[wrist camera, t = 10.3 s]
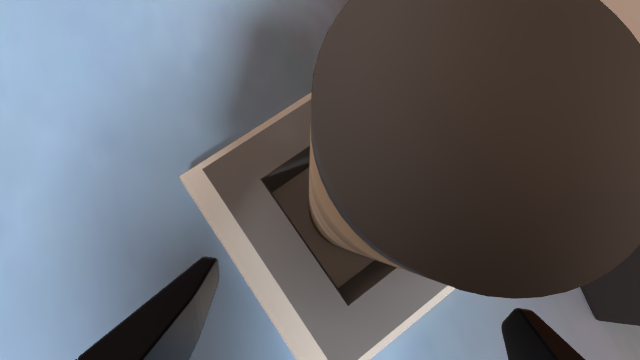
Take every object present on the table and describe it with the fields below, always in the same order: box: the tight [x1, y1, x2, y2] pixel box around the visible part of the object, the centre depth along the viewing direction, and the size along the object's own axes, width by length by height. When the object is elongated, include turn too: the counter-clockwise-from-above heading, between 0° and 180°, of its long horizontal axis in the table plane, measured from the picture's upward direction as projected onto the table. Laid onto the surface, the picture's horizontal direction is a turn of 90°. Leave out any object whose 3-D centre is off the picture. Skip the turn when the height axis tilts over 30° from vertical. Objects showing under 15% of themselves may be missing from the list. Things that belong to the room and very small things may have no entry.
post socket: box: [179, 92, 455, 360], centre depth 15 cm, size 14×14×5 cm
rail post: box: [309, 0, 640, 298], centre depth 10 cm, size 5×5×13 cm
